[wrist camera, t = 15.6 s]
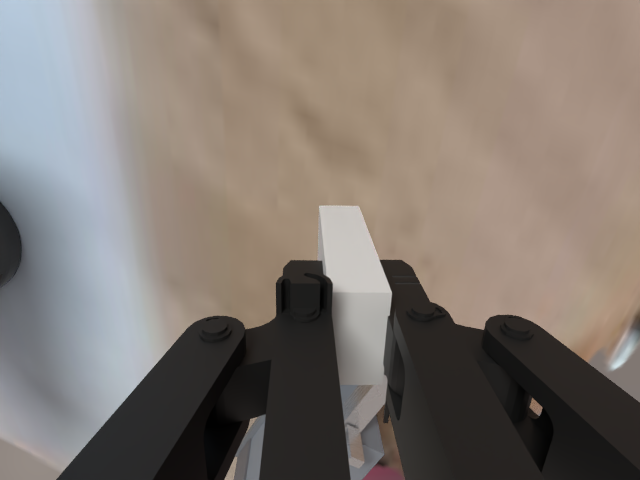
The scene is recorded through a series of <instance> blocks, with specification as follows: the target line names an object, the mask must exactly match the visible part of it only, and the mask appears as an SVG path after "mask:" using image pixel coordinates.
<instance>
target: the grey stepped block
mask: <svg viewBox="0 0 640 480" xmlns="http://www.w3.org/2000/svg"><path fill="white" fill-rule="evenodd" d="M357 386H358V385H340V390H341V399H342V405H343V403H344V402H345V401H346V400H347V398H348V397H349V396H350V395H351V393H352V392H353V391H354V390H355V388H356V387H357ZM265 418H266V415H262V416H258V418H257V419H256V421H255V422H254V423H253V425H252V426H251V428H250V429H249V430H248V432H247V433H246V435H245V436H244V438H243V440H242V442H241V444H240V446H239V448H238V451H237V453H236V455H235V456H236V457H238V458H237V464H236V470H235V476H234V480H259V474H260V465H261V455H262V446H263V436H264V427H265ZM360 434H361V441H362V447H363V454H364V461H365V463H364V464H363V465H362V466H361V467H360V468H356V467H354V466H352V465H349V468H350V477H351V480H362V479H363V478H364V477H365V476H366V474H367V473H368V472H369V471H370V470H371V469H372V468H373V467H374V466H375V464H376V463H377V462H378V461H379V460H380V459H381V458H382V457H383V456H384V450H383V445H382V440H381V435H380V430H379V425H378V420H377V416H376V415H375V416H374V417H373V418H372V419H371V421H370V422H369V423H368V424H367V425H366V427H365V428H364V429H363V430H362V431H361V433H360Z"/></svg>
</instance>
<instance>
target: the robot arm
mask: <svg viewBox="0 0 640 480" xmlns="http://www.w3.org/2000/svg"><path fill="white" fill-rule="evenodd" d="M20 258H21V242H20V237H19V234H18V231H17V228H16V226H15V223H14V221H13V220H12V218H11V216H10V215H9V213H8V212H7V210H6V209H5V208H4V206H3V205H2V204H1V203H0V288H1V287H2V286H3V285H5V284H6V283H7V282H8V281H9V280H10V279H11V278H12V277H13V275H14V274H15V272H16V271H17V268H18V266H19V263H20ZM384 369H385V373H386V377H387V380H388V381H387V390H386V400H385V409H384V423H388V418H389V415H390V417H391V422H392V426H393V430H394V434H395V438H396V442H397V447H398V451H399V455H400V459H401V463H402V467H403V471H404V476H405V480H640V403H639V402H638V401H637V400H636V399H634V398H633V397H632V396H630V395H629V394H628V393H626V392H625V391H624V390H622V389H621V388H620V387H618V386H617V385H616V384H615V383H613V382H612V381H611V380H609V379H608V378H607V377H605V376H604V375H603V374H601V373H600V372H599V371H598V370H596V369H595V368H594V367H592V366H591V365H590V364H588V363H587V362H586V361H584V360H583V359H582V358H581V357H579V356H578V355H577V354H575V353H574V352H573V351H571V350H570V349H569V348H567V347H566V346H565V345H564V344H562V343H561V342H560V341H558V340H557V339H556V338H554V337H553V336H552V335H550V334H549V333H548V332H546V331H545V330H544V329H543V328H541V327H540V326H538V325H536V324H535V323H533V322H531V321H529V320H526V319H524V318H522V317H519V316H513V315H496V316H493V317H490V318H489V319H488V320H487V321H486V324H485V329H484V330H481V329H476V328H471V327H465V326H461V325H457V324H455V323H454V321H453V319H452V318H451V316H450V314H449V313H448V312H447V311H446V310H445V309H444V308H443V307H441V306H439V305H437V304H435V303H432V302H430V301H429V299H428V297H427V295H426V293H425V291H424V289H423V287H422V286H421V284H420V282H419V280H418V278H417V277H416V274H415V272H414V270H413V269H412V267H411V266H409V265H408V264H406V263H405V262H404V261H402V260H379V257H378V255H377V252H376V250H375V247H374V244H373V242H372V239H371V237H370V234H369V231H368V229H367V226H366V224H365V221H364V218H363V216H362V213H361V211H360V208H359V206H319V232H318V261H306V260H291V261H290V262H289V263H288V264H287V265H286V266H285V267H284V268H283V276H281V277H280V278H279V279H278V280H277V282H276V317H275V318H274V319H273V320H272V321H270V322H269V323H267V324H265V325H262V326H259V327H255V328H251V329H246V330H245V327H244V325H243V323H242V322H240V321H239V320H238V319H236V318H232V317H228V316H213V317H207V318H204V319H201V320H199V321H197V322H195V323H193V324H192V325H191V326H190V327H188V328H187V329H186V331H185V332H184V333H183V334H182V335H181V336H180V337H179V339H178V340H177V341H176V342H175V343H174V344H173V346H172V347H171V348H170V349H169V350H168V351H167V352H166V354H165V355H164V356H163V357H162V358H161V359H160V361H159V362H158V363H157V364H156V365H155V366H154V367H153V369H152V370H151V371H150V372H149V373H148V374H147V376H146V377H145V378H144V379H143V380H142V381H141V382H140V384H139V385H138V386H137V387H136V388H135V389H134V391H133V392H132V393H131V394H130V395H129V396H128V397H127V399H126V400H125V401H124V402H123V403H122V404H121V406H120V407H119V408H118V409H117V410H116V411H115V412H114V414H113V415H112V416H111V417H110V418H109V419H108V421H107V422H106V423H105V424H104V425H103V426H102V427H101V429H100V430H99V431H98V432H97V433H96V434H95V436H94V437H93V438H92V439H91V440H90V441H89V442H88V444H87V445H86V446H85V447H84V448H83V449H82V451H81V452H80V453H79V454H78V455H77V456H76V457H75V459H74V460H73V461H72V462H71V463H70V464H69V466H68V467H67V468H66V469H65V470H64V471H63V472H62V474H61V475H60V476H59V477H58V478H57V479H56V480H224V479H225V477H226V475H227V472H228V470H229V468H230V466H231V464H232V462H233V459H234V457H235V455H236V453H237V451H238V448H239V446H240V444H241V442H242V440H243V438H244V435H245V433H246V431H247V429H248V426H249V421H250V419H251V418H255V417H258V416H262V415H266V418H265V427H264V436H263V446H262V455H261V465H260V474H259V480H351V477H350V468H349V459H348V451H347V442H346V433H345V425H344V416H343V407H342V399H341V390H340V385H383V376H384ZM532 397H533V398H534V399H535V400H536V401H537V402H538V403H539V404H540V405H541V406H542V407H543V409H542V412H541V415H540V416H538V415H537V414H536V413H534V412H533V411H532V410H531V409H530V408H529V407H530V403H531V400H532Z"/></svg>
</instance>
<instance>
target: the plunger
mask: <svg viewBox="0 0 640 480" xmlns="http://www.w3.org/2000/svg"><path fill="white" fill-rule="evenodd" d="M387 381H388V380H387V377H386V373H385V369H384V376H383V385H358V386H357V387H356V388H355V390H354V391H353V392H352V393H351V395H350V396H349V397H348V398H347V400H346V401H345V402H344V403H343V405H342V407H343V416H344V425H345V433H346V442H347V451H348V459H349V465H352V466H354V467H356V468H360V467H361V466H362V465H363V464H364V463H365V461H364V454H363V447H362V441H361V434H360V433H361V431H362V430H363V429H364V428H365V427H366V425H367V424H368V423H369V422H370V421H371V419H372V418H373V417H374V416H375V415H376V414H377V412H378V411H379V410H380V409H381V408H382V406H383V405H384V404H385V400H386V390H387Z"/></svg>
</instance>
